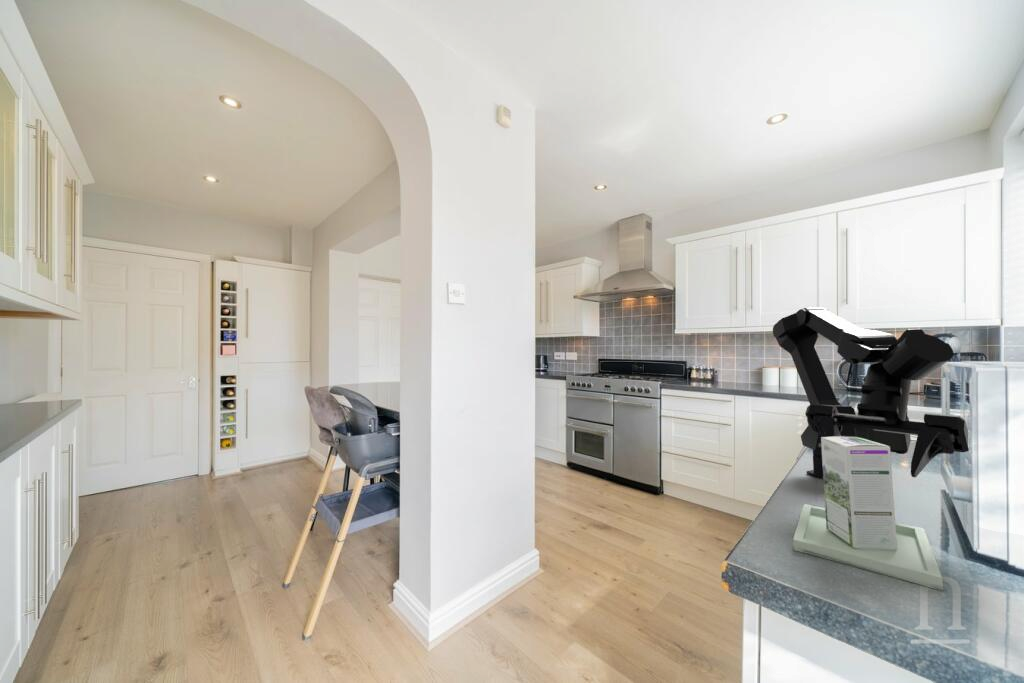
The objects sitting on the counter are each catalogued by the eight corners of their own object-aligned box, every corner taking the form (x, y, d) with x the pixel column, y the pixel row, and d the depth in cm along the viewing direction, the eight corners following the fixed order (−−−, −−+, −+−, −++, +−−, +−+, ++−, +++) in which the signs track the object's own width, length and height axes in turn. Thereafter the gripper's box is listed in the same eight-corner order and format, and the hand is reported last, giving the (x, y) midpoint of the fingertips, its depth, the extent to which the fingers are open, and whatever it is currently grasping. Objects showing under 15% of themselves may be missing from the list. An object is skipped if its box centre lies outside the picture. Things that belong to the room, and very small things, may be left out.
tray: (804, 512, 65) (804, 503, 65) (924, 538, 55) (923, 528, 55) (793, 549, 53) (793, 539, 53) (943, 591, 43) (942, 577, 43)
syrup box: (899, 551, 51) (894, 445, 51) (851, 549, 52) (846, 444, 52) (866, 531, 57) (861, 435, 57) (823, 529, 57) (819, 435, 58)
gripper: (976, 429, 60) (971, 515, 54) (830, 414, 76) (812, 480, 69) (966, 383, 56) (960, 472, 50) (814, 378, 72) (794, 444, 65)
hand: (870, 468), depth 59 cm, fingers open, 9 cm apart
